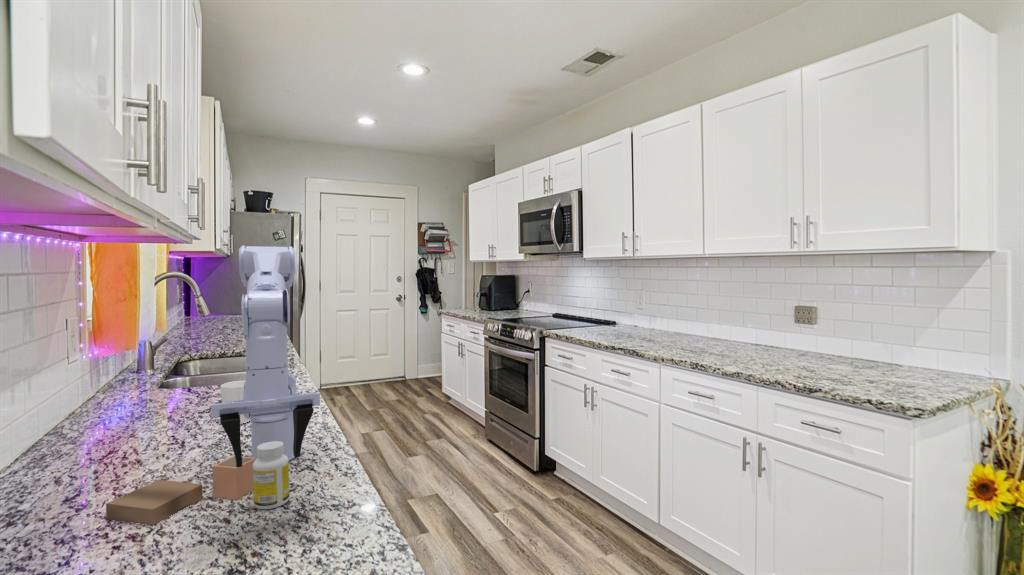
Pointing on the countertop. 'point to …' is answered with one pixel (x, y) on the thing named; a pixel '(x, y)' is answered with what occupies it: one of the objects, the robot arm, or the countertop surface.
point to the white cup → (233, 394)
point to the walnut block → (154, 502)
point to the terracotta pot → (233, 478)
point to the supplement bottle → (270, 476)
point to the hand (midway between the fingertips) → (268, 460)
